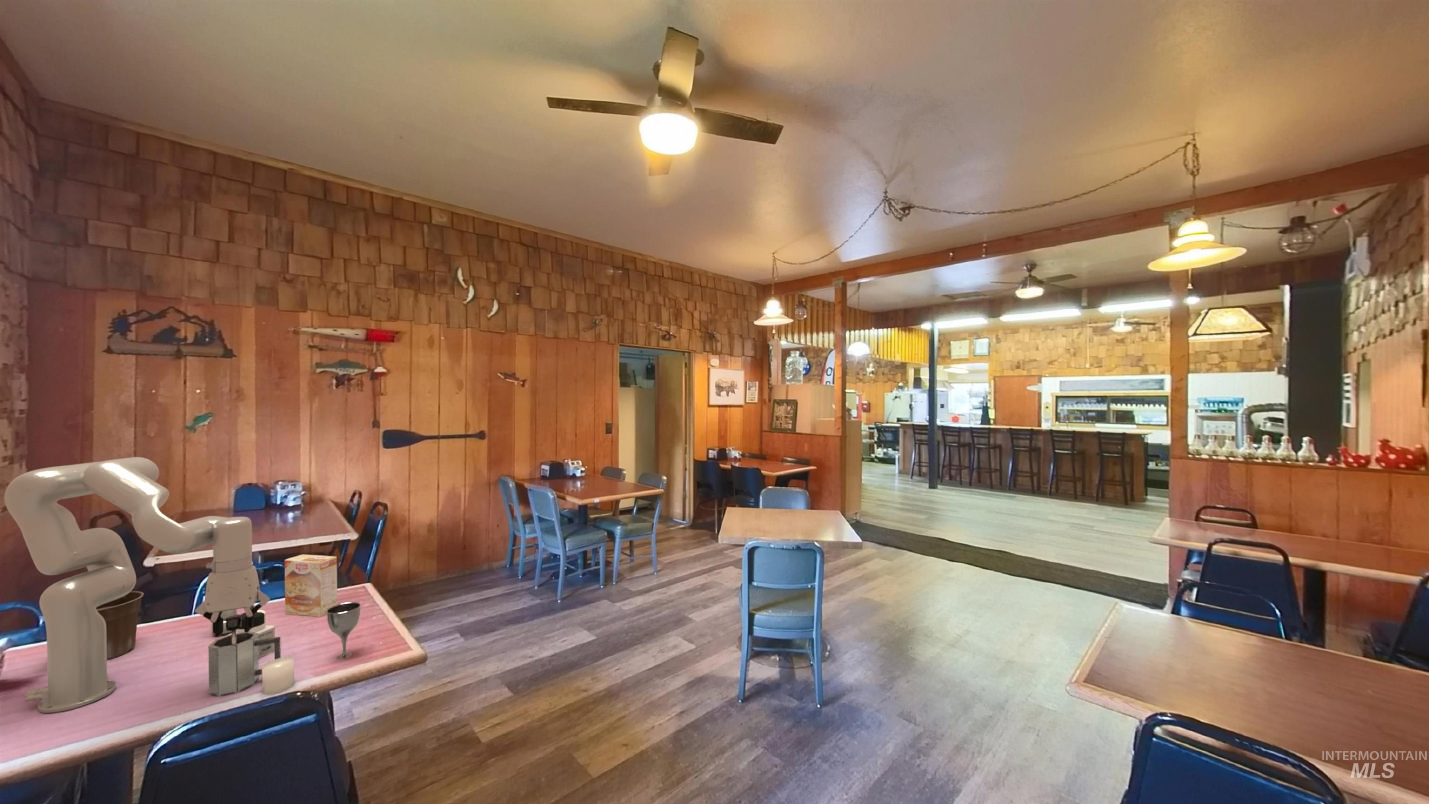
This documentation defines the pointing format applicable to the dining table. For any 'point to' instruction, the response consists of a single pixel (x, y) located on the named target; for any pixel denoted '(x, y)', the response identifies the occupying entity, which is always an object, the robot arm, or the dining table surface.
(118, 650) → the plant pot
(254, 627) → the container
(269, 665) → the pillar candle
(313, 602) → the coffeecake box
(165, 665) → the dining table surface
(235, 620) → the plunger
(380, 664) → the dining table surface
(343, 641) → the wine glass
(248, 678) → the press carafe
